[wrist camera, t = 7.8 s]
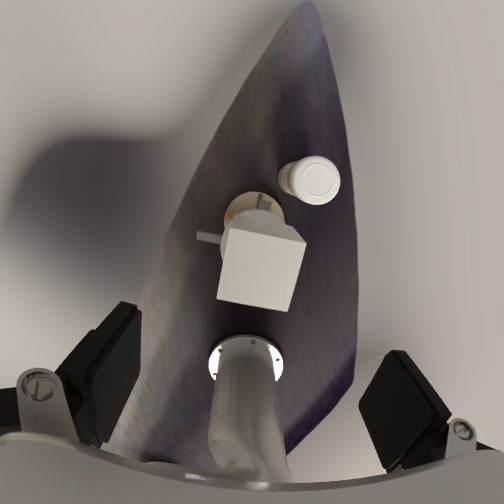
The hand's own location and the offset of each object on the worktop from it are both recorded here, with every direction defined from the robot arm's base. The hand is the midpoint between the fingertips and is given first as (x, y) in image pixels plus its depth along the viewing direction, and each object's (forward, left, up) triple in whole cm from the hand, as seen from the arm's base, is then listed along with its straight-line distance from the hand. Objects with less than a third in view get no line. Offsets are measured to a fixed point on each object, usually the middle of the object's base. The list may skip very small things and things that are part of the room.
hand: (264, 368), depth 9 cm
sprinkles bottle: (+7, -4, -30) cm, 32 cm away
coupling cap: (0, +1, -18) cm, 18 cm away
